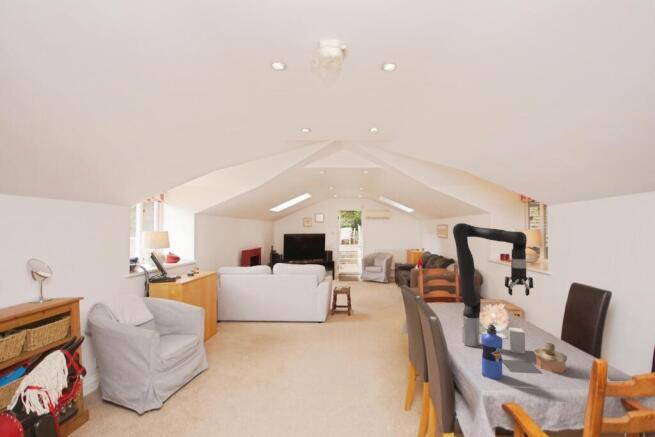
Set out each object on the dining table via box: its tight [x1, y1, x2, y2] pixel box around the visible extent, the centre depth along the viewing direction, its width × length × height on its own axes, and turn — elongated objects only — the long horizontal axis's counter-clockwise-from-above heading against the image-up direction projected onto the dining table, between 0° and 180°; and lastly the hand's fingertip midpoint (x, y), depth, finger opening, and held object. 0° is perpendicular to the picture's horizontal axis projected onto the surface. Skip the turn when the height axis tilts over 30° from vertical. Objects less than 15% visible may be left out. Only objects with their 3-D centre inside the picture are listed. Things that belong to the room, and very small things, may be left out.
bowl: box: [535, 355, 566, 373], centre depth 171 cm, size 12×12×6 cm
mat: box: [502, 359, 544, 375], centre depth 172 cm, size 15×15×1 cm
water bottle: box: [480, 324, 503, 380], centre depth 163 cm, size 9×9×25 cm
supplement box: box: [508, 327, 526, 354], centre depth 193 cm, size 7×7×13 cm
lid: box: [534, 342, 568, 363], centre depth 171 cm, size 14×14×6 cm
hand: (518, 295), depth 187 cm, fingers open, 8 cm apart
